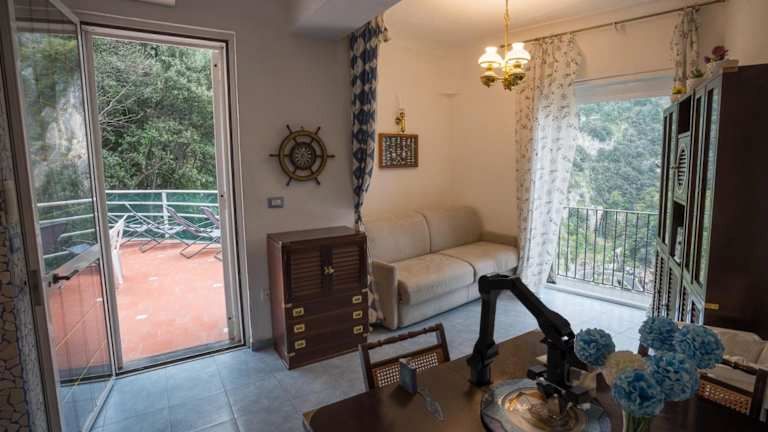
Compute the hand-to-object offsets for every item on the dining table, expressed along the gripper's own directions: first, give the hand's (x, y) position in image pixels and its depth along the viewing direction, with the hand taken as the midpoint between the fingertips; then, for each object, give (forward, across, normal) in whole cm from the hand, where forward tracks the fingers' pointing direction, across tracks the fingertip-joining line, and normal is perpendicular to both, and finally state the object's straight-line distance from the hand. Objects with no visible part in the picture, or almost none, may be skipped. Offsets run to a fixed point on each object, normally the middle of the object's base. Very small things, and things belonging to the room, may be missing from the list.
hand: (556, 410), depth 121 cm
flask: (+2, +36, +30) cm, 47 cm away
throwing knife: (+2, +24, +29) cm, 38 cm away
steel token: (+2, -1, -11) cm, 11 cm away
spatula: (+1, +1, -6) cm, 7 cm away
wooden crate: (+2, +8, -14) cm, 16 cm away
